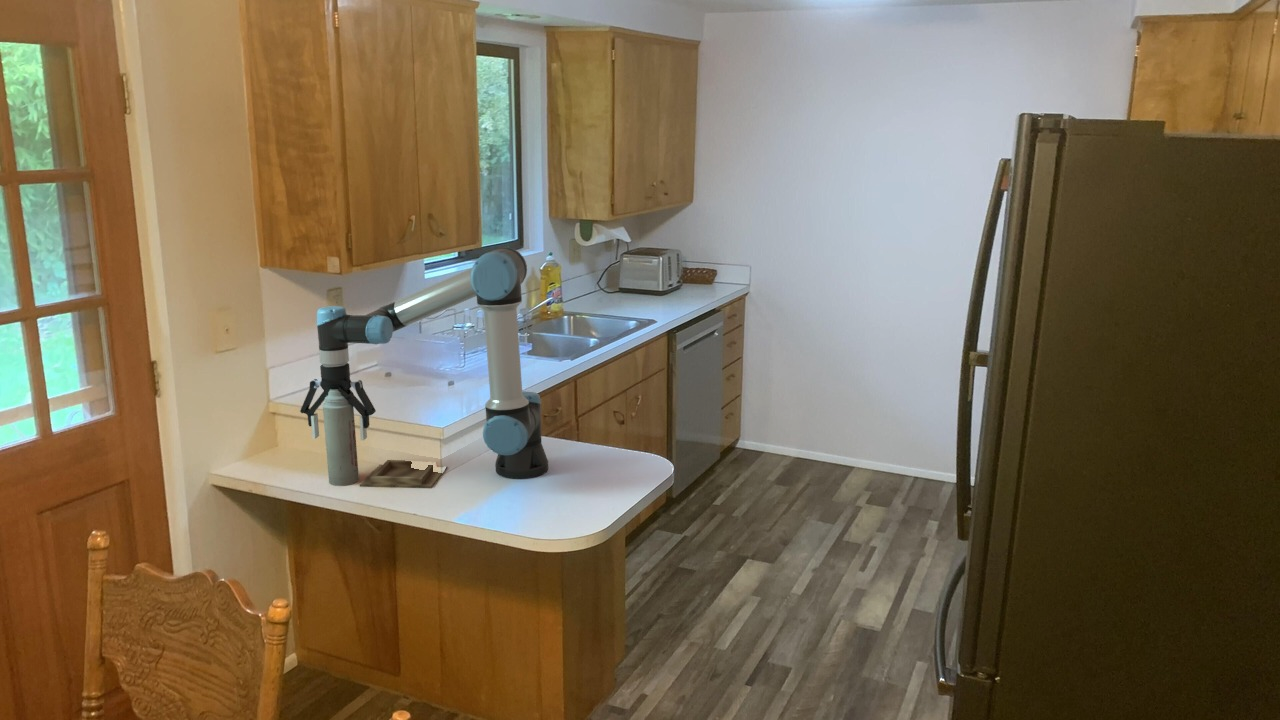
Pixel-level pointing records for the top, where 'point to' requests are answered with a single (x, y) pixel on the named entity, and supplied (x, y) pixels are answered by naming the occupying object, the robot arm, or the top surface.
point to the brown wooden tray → (401, 476)
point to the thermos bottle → (340, 438)
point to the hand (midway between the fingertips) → (339, 438)
